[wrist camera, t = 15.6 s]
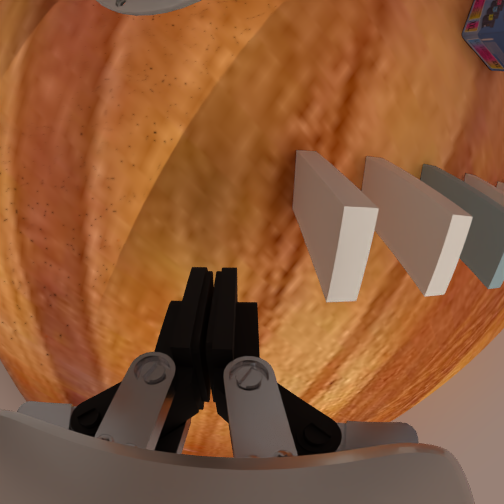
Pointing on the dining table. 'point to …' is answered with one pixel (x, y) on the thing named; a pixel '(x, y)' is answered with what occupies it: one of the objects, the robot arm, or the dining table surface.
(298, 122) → the dining table surface
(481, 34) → the ink cartridge box
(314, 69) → the dining table surface
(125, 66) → the dining table surface
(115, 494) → the robot arm
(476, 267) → the domino
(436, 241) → the domino
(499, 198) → the domino
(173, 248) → the dining table surface
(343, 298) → the domino
